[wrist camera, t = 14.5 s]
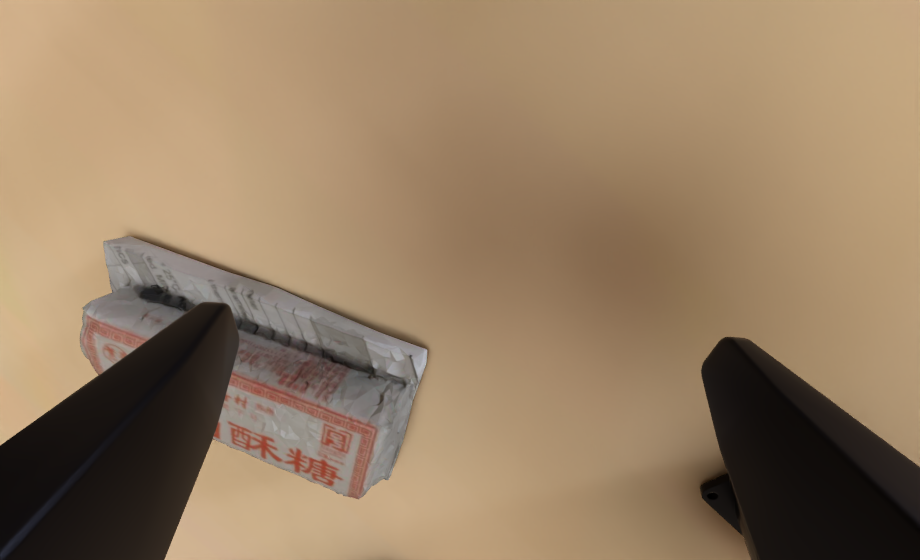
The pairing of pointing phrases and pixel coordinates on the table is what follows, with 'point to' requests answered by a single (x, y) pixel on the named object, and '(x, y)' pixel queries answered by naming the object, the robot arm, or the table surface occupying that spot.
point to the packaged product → (271, 366)
